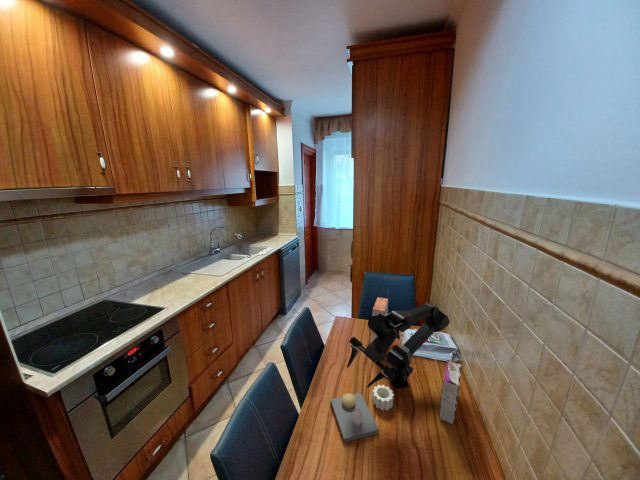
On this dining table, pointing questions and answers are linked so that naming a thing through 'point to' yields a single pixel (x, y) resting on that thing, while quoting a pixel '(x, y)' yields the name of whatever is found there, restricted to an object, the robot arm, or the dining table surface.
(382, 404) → the planet gear
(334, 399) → the carrier board
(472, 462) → the dining table surface
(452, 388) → the candy bar box
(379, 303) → the cracker box
